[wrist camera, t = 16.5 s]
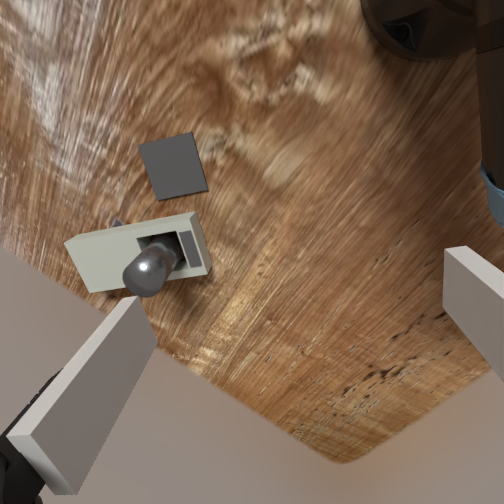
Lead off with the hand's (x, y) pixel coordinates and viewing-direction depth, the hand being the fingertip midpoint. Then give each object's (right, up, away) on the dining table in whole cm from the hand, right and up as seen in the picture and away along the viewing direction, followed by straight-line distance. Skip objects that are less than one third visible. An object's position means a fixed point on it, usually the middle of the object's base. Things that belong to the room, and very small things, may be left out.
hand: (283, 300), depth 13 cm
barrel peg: (-13, +3, +29) cm, 32 cm away
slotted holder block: (-17, +3, +30) cm, 34 cm away
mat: (-11, +13, +25) cm, 30 cm away
